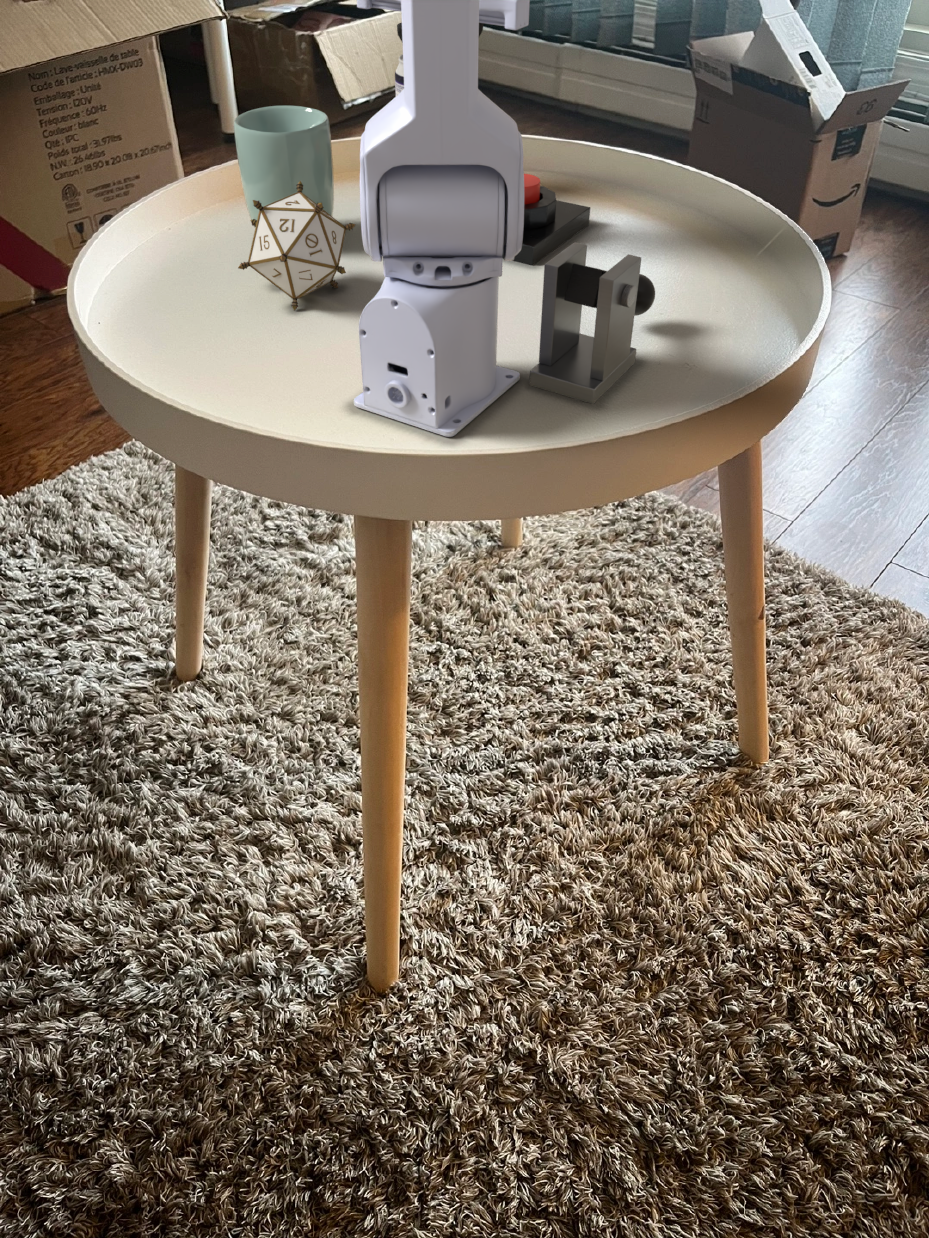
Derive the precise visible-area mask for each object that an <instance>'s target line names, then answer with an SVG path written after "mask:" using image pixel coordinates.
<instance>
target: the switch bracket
mask: <svg viewBox="0 0 929 1238" xmlns="http://www.w3.org/2000/svg"><path fill="white" fill-rule="evenodd" d="M587 251H588V244H585V243H579V242H577V241H576V242H572V243H571V244H570V245H568V246H567V247H565V248H564V249H563V250H562V251H560V252H559V253H557V254H556V255H555V256H553V257H552V258H550V259H549V260H548V261H547V262H545V263H544V267H543V283H542V284H543V285H542V301H541V315H540V316H541V317H540V319H541V320H540V335H539V350H538V351H539V353H538V363H537V364H536V365H535V366H534V367H533V368H532V369H531V370H529V384H528V385H529V386H531V387H534V388H538V389H540V390H545V391H548V392H551V393H555V394H558V395H561V396H565V397H568V398H571V399H575V400H578V401H581V402H585V403H589V404H591V405H592V404H593V405H594V404H595V403H596V402H597V401H598V400H599V399H600V398H601V397H602V396H603V395H604V394H605V393H606V392H607V391H609V389H610V388H612V386H613V385H615V383H617V381H618V380H619V379H620V378H621V377H622V376H623V375H624V374H625V373H627V371H629V369H631V367H633V365H634V364H635V363H636V357H637V348H635V347H632V338H633V331H634V330H633V329H634V323H635V322H634V321H635V316H634V315H635V307H636V299H637V291H638V283H639V275H640V274H641V267H642V257H641V256H637V255H633V254H627V255H626V256H624V257H623V258H622V259H621V260H619V261H618V262H617V263H616V264H614V265H613V266H612V267H610V268H609V269H608V270H606V271H607V272H606V273H605V274H603V275H602V276H601V277H600V281H599V291H598V301H597V308H596V311H595V312H596V313H595V324H594V333H593V336H590V335H587V334H583V333H581V322H582V310H583V305H581V304H577V303H573V302H569V301H565V300H564V299H565V295H566V291H567V286H568V282H569V278H570V274H571V270H572V266H573V263H575V264H579V265H584V266H587V265H586V264H587V263H586V262H587V254H588V253H587Z"/></svg>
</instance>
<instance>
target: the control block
mask: <svg viewBox="0 0 929 1238" xmlns="http://www.w3.org/2000/svg"><path fill="white" fill-rule="evenodd" d="M590 216H591V206H586V205H582V204H577V203H573V202H567V201H562V200H558V199H557V195H556V192H555V191H553V190H552V189H550V188H548V187H546V186H542V185H540V199H539V201H538V202H536V203H531V204H524V227H523V241H522V248H521V251H520V252H519V253H518V254H517V255H516V256H515V257H514V259H513V260H512V261H511V262H516V263H519V264H520V263H521V264H524V265H528V266H532V267H533V266H535V265H536V264H537V263H539V262H540V261H541V260H542V259H544V258H545V257H547V256H549V255H550V254H551V253H552V252H553V251H556V250H557V249H558V248H559V247H561V246H563V244H565V243H566V242H568V241H569V240H570V239H572V238H573V237H575V236H576V235H578V234H579V233H580V232H582V231H583V230H584V229H586V228H587V227H588V226H589V225H590ZM503 260H504V258H503Z"/></svg>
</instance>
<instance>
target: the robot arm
mask: <svg viewBox="0 0 929 1238" xmlns="http://www.w3.org/2000/svg"><path fill="white" fill-rule="evenodd" d="M530 3H531V1H530V0H356V8H357V9H362V10H370V9H378V10H379V9H380V10H385V11H386V10H387V11H393V12H400V13H401V14H400V15H401V22H399V23H398V24H397V25H396V32H397V36H398V38H399V40H400V42H401V43H402V54H403V69H404V89H403V90H402V91H401V92H400V93H399V94H398V95H397V96H396V95H395V97H393V99H392V100H390V101H389V102H388V103H387V104H386V105H384V106H383V107H382V108H380V110H379V111H377V112H376V113H375V114H374V115H372V117H370V119H369V120H368V121H366V123H365V126H364V127H365V128H364V131H363V132H362V133H361V135H360V144H359V145H360V146H359V148H360V149H359V163H360V164H359V208H360V209H359V211H360V228H361V239H362V245H363V250H364V252H365V253H366V254H367V256H369V257H370V258H371V261H373V262H382V263H383V267H382V268H383V277H384V279H383V280H382V283H381V286H380V289H378V291H377V292H376V294H375V295H374V296H373V297H372V298H371V300H370V301H369V302H368V303H367V304H366V305H365V307H364V308H363V309H362V312H361V314H360V317H359V321H358V340H359V341H358V342H359V354H360V355H359V356H360V366H361V367H360V368H361V381H362V392H361V393H359V394H358V395H357V396H355V397H354V398H353V405H354V407H356V408H359V409H362V410H365V411H367V412H370V413H373V414H375V415H380V416H382V417H385V418H389V419H392V420H395V421H396V422H397V421H398V422H400V423H404V424H407V425H409V426H413V427H416V428H419V429H421V430H425V431H427V432H431V433H434V434H438V435H440V436H442V437H446V438H452V437H454V436H456V435H457V434H458V433H459V432H461V431H462V430H463V429H464V428H465V427H466V426H467V425H468V424H470V423H471V422H472V421H473V420H475V419H476V418H477V417H478V416H479V415H480V414H481V413H482V412H484V411H485V410H486V409H487V408H488V407H490V406H491V405H492V404H493V403H494V402H495V401H497V400H498V399H499V398H500V397H501V396H502V395H503V394H505V393H506V392H507V391H508V390H509V389H510V388H512V387H513V386H514V385H515V384H516V383H517V382H519V381H520V379H521V374H520V372H519V371H517V370H513V369H511V368H508V367H503V366H501V365H497V357H498V354H497V353H498V323H499V322H498V319H499V318H498V317H499V283H500V282H499V281H500V278H501V277H502V276H503V261H504V262H513V261H512V260H513V259H514V257H515V256H516V255H517V254H518V253H519V252H520V251H521V248H522V241H523V227H524V174H525V171H524V144H523V143H524V142H523V137H522V133H521V132H520V131H519V128H518V124H517V122H516V120H514V119H513V118H512V116H510V115H509V114H508V113H507V112H505V111H504V110H503V109H502V108H500V107H499V106H498V105H497V104H496V103H495V102H493V100H491V99H490V97H488V96H487V95H485V94H484V93H483V92H482V91H481V90H480V89H479V40H480V38H481V37H480V36H481V35H482V33H483V31H484V24H486V25H494V26H500V27H504V29H505V30H512V31H518V30H520V29H522V28H526V27H528V26H529V25H530V24H529V23H530V22H529V21H530ZM503 258H504V259H503Z"/></svg>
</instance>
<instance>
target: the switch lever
mask: <svg viewBox="0 0 929 1238" xmlns="http://www.w3.org/2000/svg"><path fill="white" fill-rule="evenodd" d="M607 271H608V270H604V269H600V268H596V267H592V266H589V265H585V266H584V265H579V264H575V263H573V266H572V270H571V274H570V278H569V282H568V286H567V291H566V295H565V299H564V300H565V301H569V302H573V303H577V304H581V305H582V306H584V307H588V308H592V309H597V301H598V291H599V281H600V277H601V276H602V275H603V274H605V273H606V272H607ZM655 299H656V288H655V285H654V283H653V282H652V280H651V279H650V278H649V277H648V276H646V275H645V274H641V273H640V275H639V283H638V291H637V299H636V307H635V315H634V317H636V316H641V315H643V314H646V312H648V311H649V310H650V309H651V308H652V306H653V304H654V302H655Z"/></svg>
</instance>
